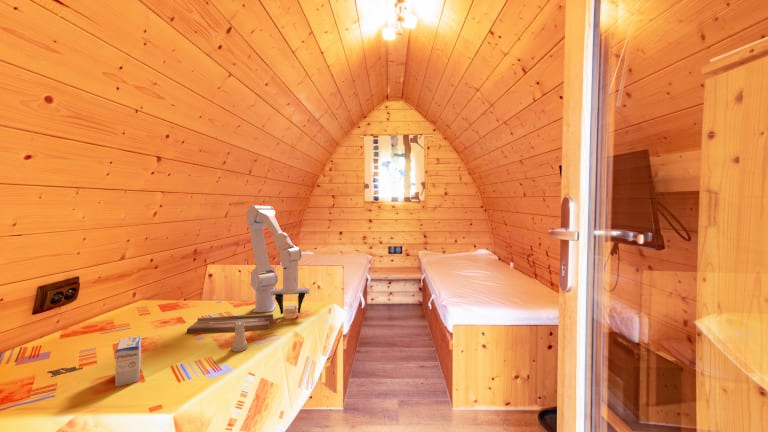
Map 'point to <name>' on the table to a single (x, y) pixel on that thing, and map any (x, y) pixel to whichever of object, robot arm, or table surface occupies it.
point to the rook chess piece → (239, 337)
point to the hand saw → (58, 372)
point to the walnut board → (230, 323)
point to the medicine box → (128, 361)
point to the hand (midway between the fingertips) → (290, 312)
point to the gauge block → (290, 311)
